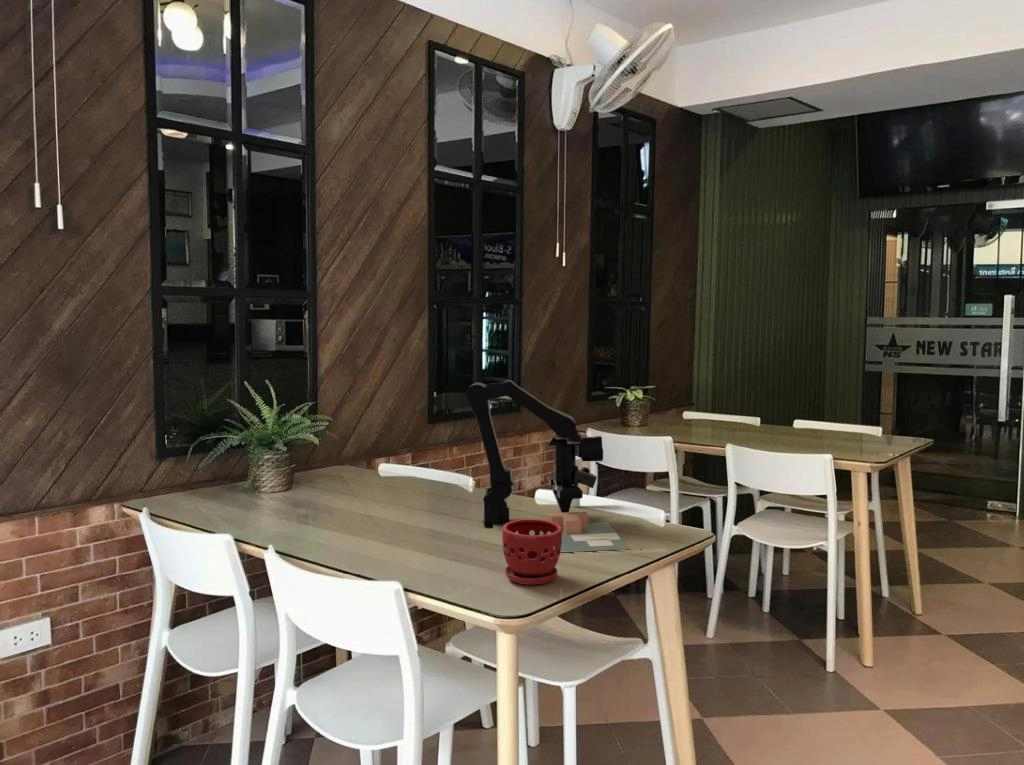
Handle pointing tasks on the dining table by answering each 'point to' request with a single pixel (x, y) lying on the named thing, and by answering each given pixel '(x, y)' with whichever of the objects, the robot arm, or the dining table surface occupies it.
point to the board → (591, 539)
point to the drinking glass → (577, 501)
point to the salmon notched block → (570, 521)
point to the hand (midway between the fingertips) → (565, 517)
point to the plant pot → (531, 550)
